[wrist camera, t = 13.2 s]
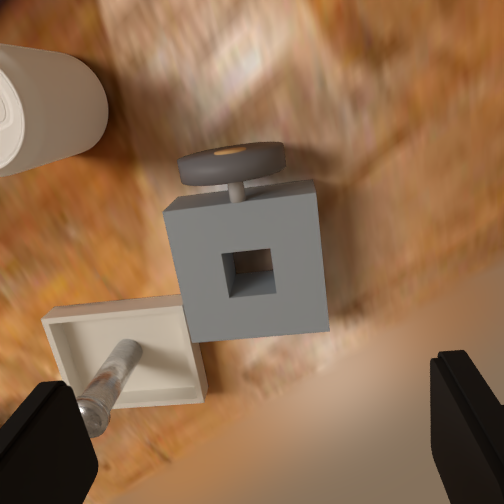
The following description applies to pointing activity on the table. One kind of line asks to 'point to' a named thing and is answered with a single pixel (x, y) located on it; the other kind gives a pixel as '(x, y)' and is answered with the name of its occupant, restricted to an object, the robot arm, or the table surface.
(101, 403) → the lock pin
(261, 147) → the tensioner block
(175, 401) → the tray
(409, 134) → the table surface
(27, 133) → the beverage can
